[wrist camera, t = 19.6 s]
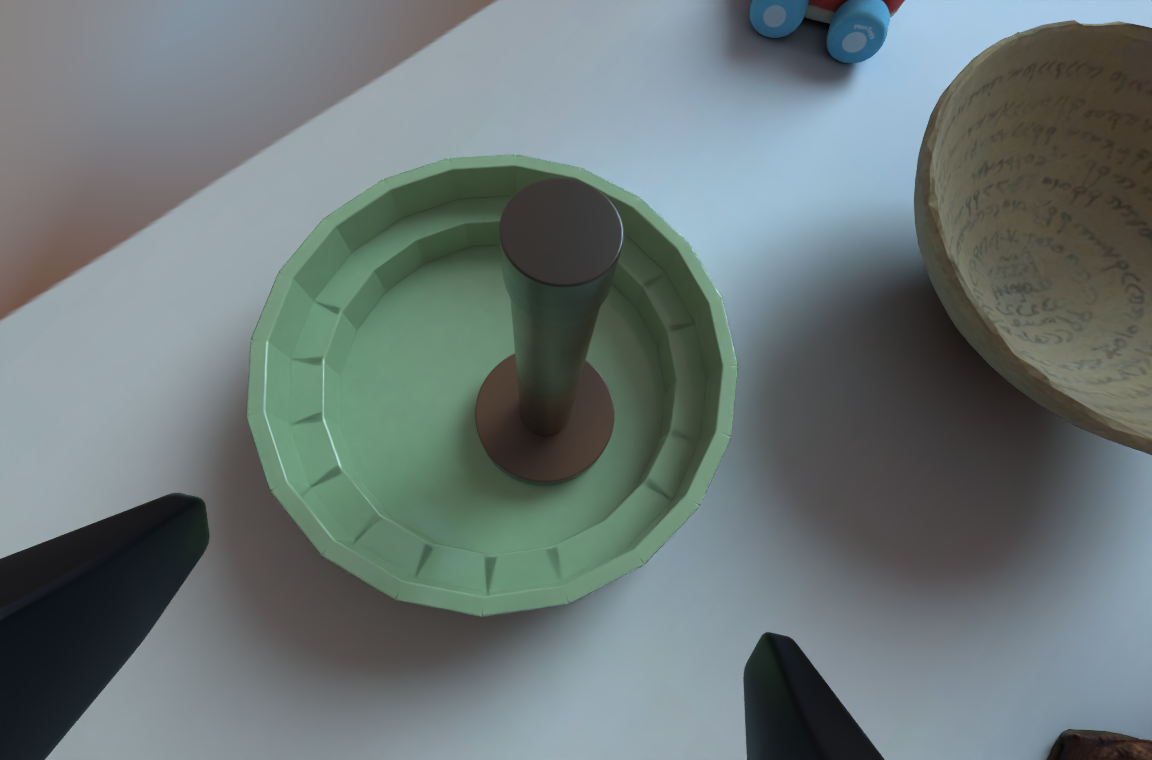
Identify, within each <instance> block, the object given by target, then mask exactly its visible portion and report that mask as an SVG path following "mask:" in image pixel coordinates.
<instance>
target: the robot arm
mask: <svg viewBox="0 0 1152 760" xmlns="http://www.w3.org/2000/svg"><path fill="white" fill-rule="evenodd" d="M208 543H209V527H208V520H207V513H206V505H205V502H204V501H203V500H202V499H201V498H199V497H195V496H191V495H186V494H182V493H172V494H169V495H166V496H163V497H160V498H158V499H155V500H153V501H150V502H147V503H145V504H142V505H140V506H137V507H134V508H132V509H129V510H127V511H124V512H121V513H119V514H116V515H114V516H111V517H108V518H106V519H103V520H101V521H98V522H95V523H93V524H90V525H87V526H85V527H82V528H80V529H77V530H74V531H72V532H69V533H67V534H64V535H61V536H59V537H56V538H54V539H51V540H48V541H46V542H43V543H41V544H38V545H35V546H33V547H30V548H28V549H25V550H22V551H20V552H17V553H15V554H12V555H9V556H7V557H4V558H1V559H0V760H45V759H46V757H47V756H48V755H49V754H50V753H51V751H52V750H53V749H54V748H55V747H56V745H57V744H58V743H59V742H60V741H61V739H62V738H63V737H64V736H65V735H66V733H67V732H68V731H69V730H70V729H71V727H72V726H73V725H74V724H75V723H76V721H77V720H78V719H79V718H80V717H81V715H82V714H83V713H84V712H85V711H86V709H87V708H88V707H89V706H90V705H91V703H92V702H93V701H94V700H95V699H96V697H97V696H98V695H99V694H100V693H101V691H102V690H103V689H104V688H105V687H106V685H107V684H108V683H109V682H110V681H111V679H112V678H113V677H114V676H115V675H116V673H117V672H118V671H119V670H120V669H121V667H122V666H123V665H124V664H125V663H126V661H127V660H128V659H129V658H130V656H131V655H132V654H133V653H134V651H135V650H136V649H137V648H138V646H139V645H140V644H141V643H142V641H143V640H144V639H145V637H146V636H147V634H148V633H149V632H150V630H151V629H152V628H153V626H154V625H155V623H156V622H157V620H158V619H159V617H160V616H161V614H162V613H163V612H164V610H165V609H166V607H167V606H168V604H169V603H170V601H171V600H172V599H173V597H174V596H175V594H176V593H177V591H178V590H179V588H180V587H181V585H182V584H183V583H184V581H185V580H186V578H187V577H188V575H189V574H190V572H191V571H192V569H193V568H194V567H195V565H196V564H197V562H198V561H199V559H200V558H201V556H202V555H203V553H204V552H205V550H206V548H207V546H208ZM744 701H745V724H746V747H747V760H884V758H883V757H882V756H881V754H880V753H879V752H878V750H877V749H876V748H875V746H874V745H873V744H872V742H871V741H870V740H869V738H868V737H867V736H866V734H865V733H864V732H863V731H862V729H861V728H860V727H859V725H858V724H857V723H856V721H855V720H854V719H853V717H852V716H851V715H850V713H849V712H848V711H847V709H846V708H845V707H844V705H843V704H842V703H841V702H840V700H839V699H838V698H837V696H836V695H835V694H834V692H833V691H832V690H831V688H830V687H829V686H828V684H827V683H826V682H825V680H824V679H823V678H822V676H821V675H820V674H819V672H818V671H817V670H816V669H815V667H814V666H813V665H812V663H811V662H810V661H809V659H808V658H807V657H806V655H805V654H804V653H803V651H802V650H801V649H800V647H799V646H798V645H797V643H796V642H795V641H794V640H793V639H791V638H790V637H787V636H783V635H779V634H775V633H771V632H766V633H764V634H763V635H762V636H761V638H760V639H759V641H758V643H757V645H756V647H755V648H754V650H753V652H752V654H751V656H750V657H749V659H748V661H747V663H746V666H745V670H744Z"/></svg>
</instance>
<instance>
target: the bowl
mask: <svg viewBox="0 0 1152 760" xmlns="http://www.w3.org/2000/svg"><path fill="white" fill-rule="evenodd" d="M914 210H915V225H916V232H917V238H918V244H919V248H920V251H921V255H922V258H923V262H924V265H925V268H926V271H927V273H928V275H929V278H930V280H931V282H932V284H933V286H934V289H935V291H936V293H937V295H938V297H939V299H940V301H941V303H942V304H943V306H944V308H945V310H946V312H947V314H948V315H949V317H950V318H951V320H952V321H953V323H954V325H955V326H956V328H957V329H958V330H959V332H960V333H961V334H962V335H963V336H964V337H965V339H966V340H967V341H968V343H969V344H970V345H971V346H972V347H973V348H974V349H975V350H976V351H977V352H978V353H979V354H980V355H981V357H982V358H983V359H984V360H985V361H986V362H987V363H988V364H989V365H990V366H991V367H992V368H994V369H995V370H996V371H997V372H998V373H999V374H1000V375H1001V376H1002V377H1003V378H1005V379H1006V380H1007V381H1008V382H1009V383H1010V384H1011V385H1013V386H1014V387H1016V388H1017V389H1018V390H1020V391H1021V392H1022V393H1024V394H1025V395H1027V396H1028V397H1029V398H1031V399H1032V400H1033V401H1035V402H1036V403H1038V404H1039V405H1041V406H1043V407H1044V408H1046V409H1047V410H1049V411H1051V412H1052V413H1054V414H1056V415H1058V416H1059V417H1061V418H1063V419H1065V420H1066V421H1068V422H1070V423H1072V424H1073V425H1075V426H1077V427H1079V428H1082V429H1084V430H1086V431H1089V432H1091V433H1093V434H1096V435H1098V436H1101V437H1103V438H1106V439H1108V440H1111V441H1114V442H1116V443H1119V444H1122V445H1124V446H1127V447H1130V448H1133V449H1136V450H1139V451H1142V452H1145V453H1148V454H1150V455H1152V28H1149V27H1145V26H1140V25H1135V24H1130V23H1124V22H1119V21H1118V22H1112V23H1106V24H1080V23H1078V22H1076V21H1075V20H1073V21H1065V22H1058V23H1052V24H1046V25H1042V26H1039V27H1036V28H1033V29H1030V30H1027V31H1024V32H1021V33H1020V32H1018V33H1016V34H1014V35H1012V36H1010V37H1008V38H1005V39H1002V40H1000V41H999V42H997V43H995V44H994V45H992V46H990V47H989V48H987V49H986V50H985V51H983V52H982V53H981V54H979V55H978V56H976V57H975V58H974V59H973V60H972V61H971V62H970V63H969V64H968V65H967V66H966V67H965V68H964V69H963V70H962V71H961V72H960V73H959V74H958V75H957V77H956V78H955V79H954V80H953V82H952V83H951V84H950V85H949V86H948V87H947V89H946V90H945V91H944V92H943V94H942V95H941V97H940V98H939V100H938V102H937V104H936V106H935V108H934V109H933V111H932V113H931V115H930V119H929V122H928V125H927V128H926V131H925V134H924V137H923V141H922V144H921V148H920V152H919V156H918V163H917V171H916V179H915V192H914Z"/></svg>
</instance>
